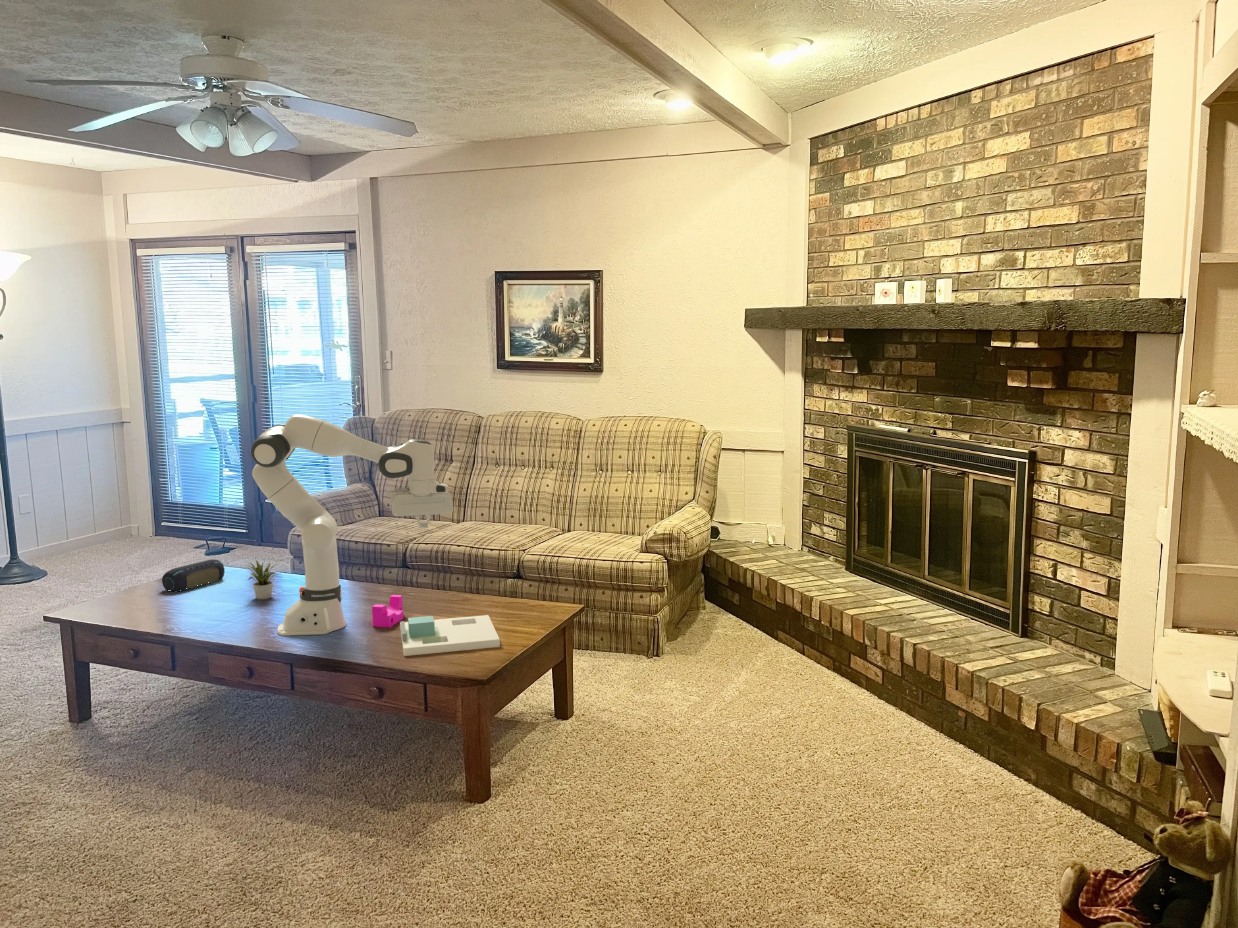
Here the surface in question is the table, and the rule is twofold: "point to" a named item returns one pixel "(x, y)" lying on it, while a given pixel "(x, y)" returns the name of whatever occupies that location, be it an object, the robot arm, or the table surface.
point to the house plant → (262, 581)
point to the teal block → (421, 626)
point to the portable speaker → (193, 575)
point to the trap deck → (452, 636)
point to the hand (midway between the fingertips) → (423, 527)
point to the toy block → (388, 612)
